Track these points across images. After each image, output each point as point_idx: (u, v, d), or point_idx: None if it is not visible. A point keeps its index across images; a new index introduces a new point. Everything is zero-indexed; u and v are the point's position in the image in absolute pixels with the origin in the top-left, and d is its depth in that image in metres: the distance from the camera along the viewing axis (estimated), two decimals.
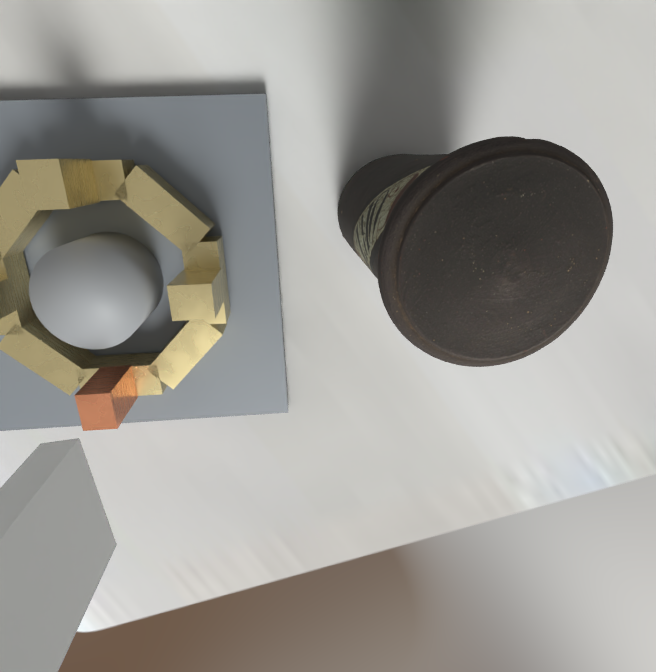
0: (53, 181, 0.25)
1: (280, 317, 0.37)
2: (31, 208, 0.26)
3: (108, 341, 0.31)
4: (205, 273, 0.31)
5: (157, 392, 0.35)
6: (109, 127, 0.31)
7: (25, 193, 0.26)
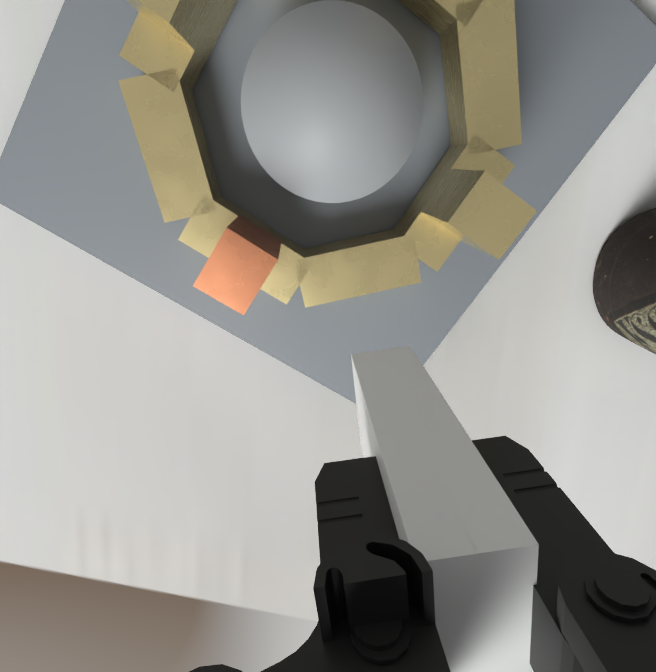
0: None
1: (466, 305, 0.27)
2: None
3: (307, 187, 0.19)
4: None
5: (282, 298, 0.23)
6: None
7: None
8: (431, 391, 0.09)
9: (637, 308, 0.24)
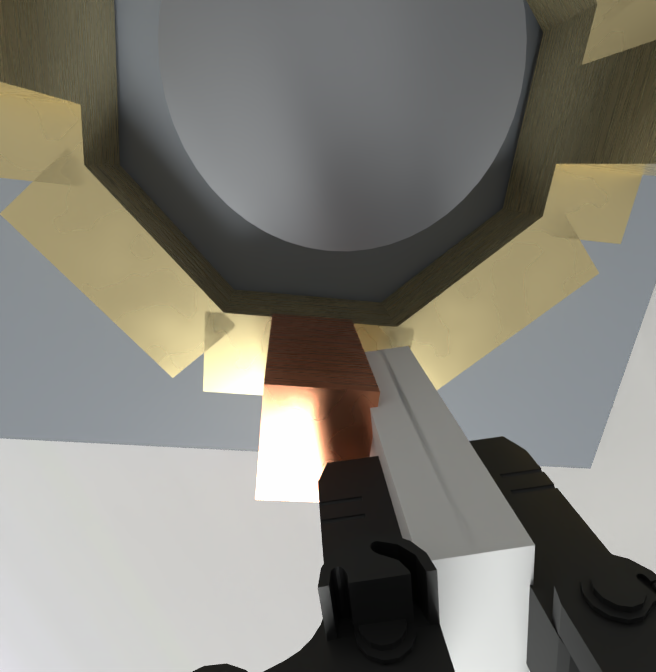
0: None
1: None
2: None
3: (363, 230, 0.10)
4: None
5: None
6: None
7: None
8: (429, 391, 0.09)
9: None
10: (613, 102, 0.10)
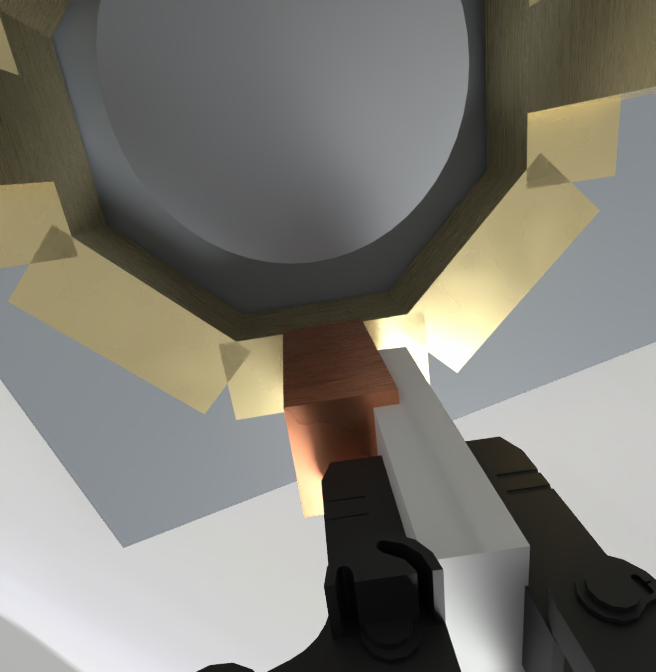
0: None
1: None
2: None
3: (377, 216, 0.10)
4: None
5: None
6: None
7: None
8: (426, 392, 0.09)
9: None
10: (568, 39, 0.09)
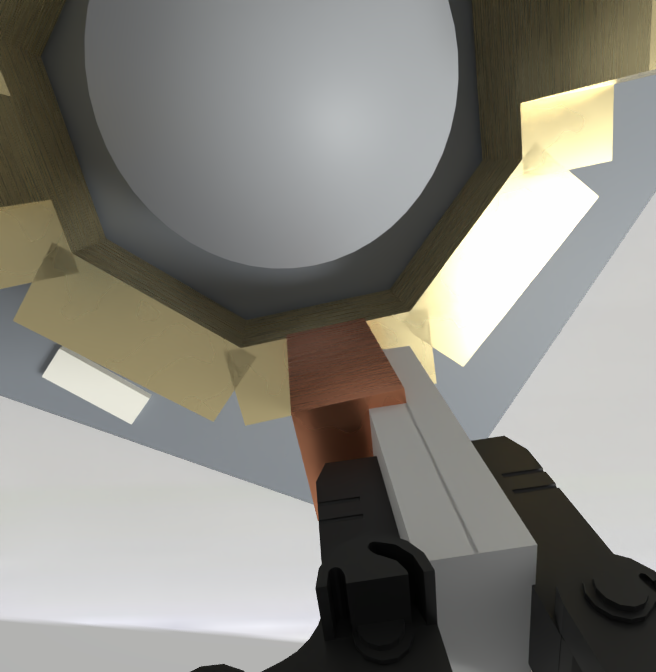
0: None
1: None
2: None
3: (430, 128, 0.09)
4: None
5: None
6: None
7: None
8: (430, 391, 0.09)
9: None
10: (557, 26, 0.09)
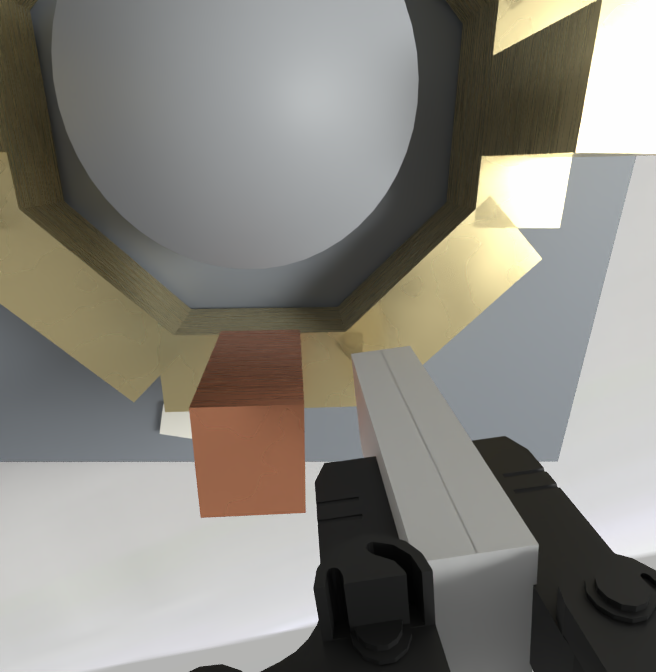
0: None
1: None
2: None
3: (396, 60, 0.09)
4: None
5: (349, 401, 0.14)
6: None
7: None
8: (431, 391, 0.09)
9: None
10: (516, 93, 0.10)
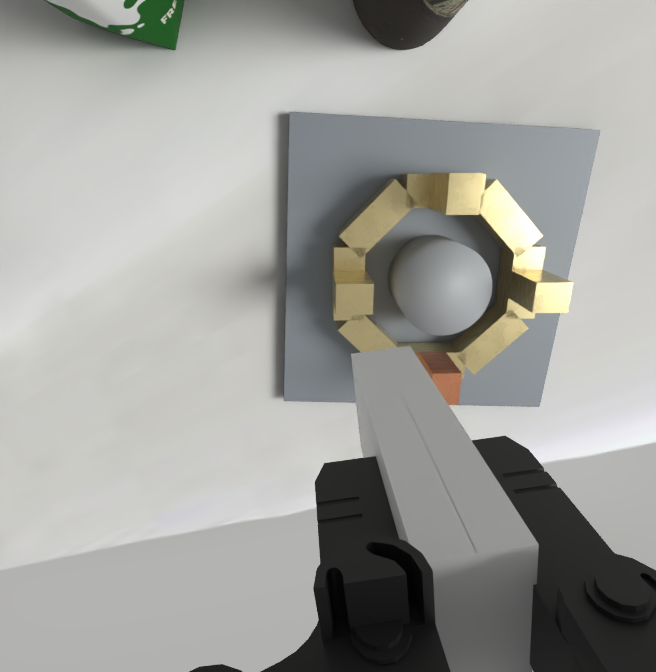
0: (473, 191, 0.30)
1: (494, 124, 0.36)
2: (449, 213, 0.31)
3: (486, 283, 0.35)
4: (542, 273, 0.35)
5: None
6: (307, 252, 0.38)
7: (448, 200, 0.31)
8: (431, 391, 0.09)
9: (455, 14, 0.31)
10: (519, 287, 0.35)
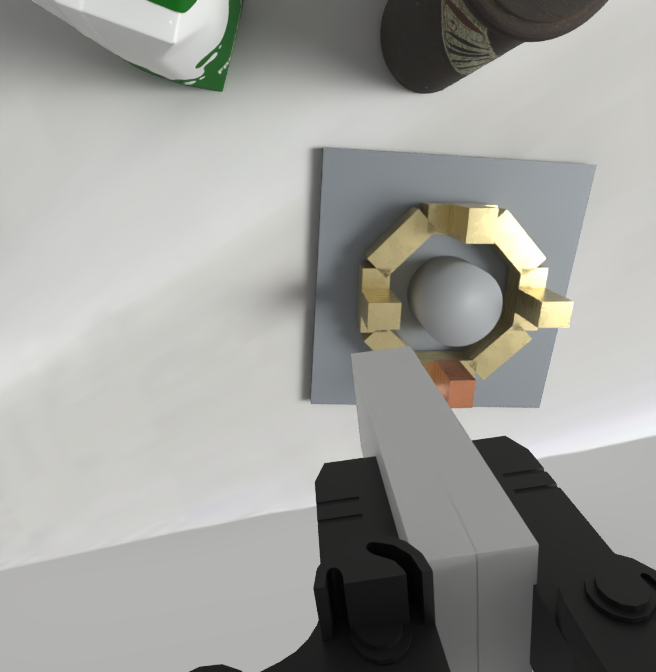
0: (490, 223, 0.35)
1: (503, 159, 0.41)
2: (468, 242, 0.35)
3: (497, 300, 0.40)
4: (545, 292, 0.40)
5: None
6: (336, 271, 0.43)
7: (468, 231, 0.35)
8: (431, 391, 0.09)
9: None
10: (525, 304, 0.40)
